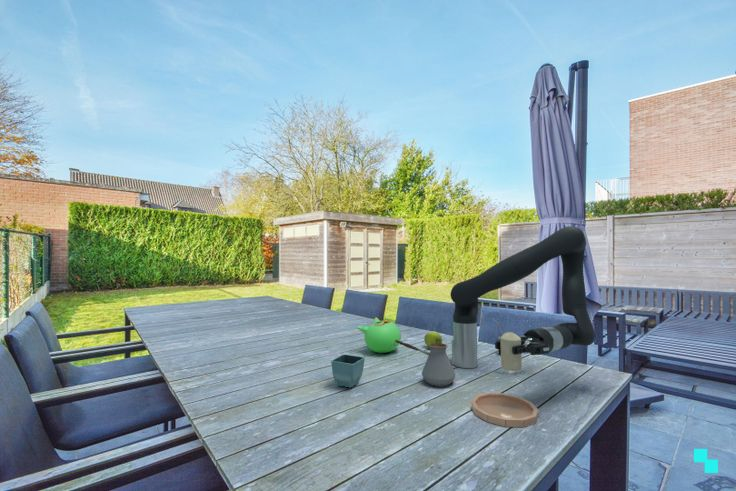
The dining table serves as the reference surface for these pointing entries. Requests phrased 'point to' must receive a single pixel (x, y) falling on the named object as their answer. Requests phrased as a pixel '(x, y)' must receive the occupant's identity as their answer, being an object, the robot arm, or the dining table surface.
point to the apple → (432, 338)
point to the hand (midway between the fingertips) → (504, 348)
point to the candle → (510, 352)
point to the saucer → (504, 410)
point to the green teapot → (381, 336)
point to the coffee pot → (435, 364)
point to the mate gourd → (499, 337)
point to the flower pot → (347, 369)
